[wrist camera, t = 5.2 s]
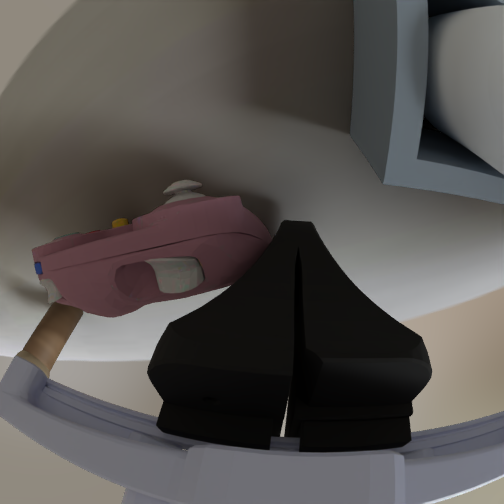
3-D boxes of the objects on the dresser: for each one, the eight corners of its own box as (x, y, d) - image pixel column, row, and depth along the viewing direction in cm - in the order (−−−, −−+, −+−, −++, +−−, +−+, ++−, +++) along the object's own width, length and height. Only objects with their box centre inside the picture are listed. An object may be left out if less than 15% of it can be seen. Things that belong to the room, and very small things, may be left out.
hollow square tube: (493, 27, 5) (570, 34, 1) (480, 159, 9) (544, 214, 5) (352, -19, 6) (389, -66, 2) (349, 135, 9) (383, 184, 6)
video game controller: (270, 177, 12) (206, 155, 6) (290, 278, 13) (249, 359, 6) (102, 221, 15) (1, 239, 8) (120, 297, 16) (29, 344, 9)
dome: (503, 41, 4) (587, 56, 1) (493, 147, 7) (566, 204, 4) (399, 0, 5) (469, -30, 2) (394, 122, 7) (459, 172, 4)
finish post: (75, 294, 17) (22, 381, 11) (90, 321, 19) (46, 403, 13) (50, 289, 18) (-1, 367, 12) (65, 314, 19) (22, 389, 13)
